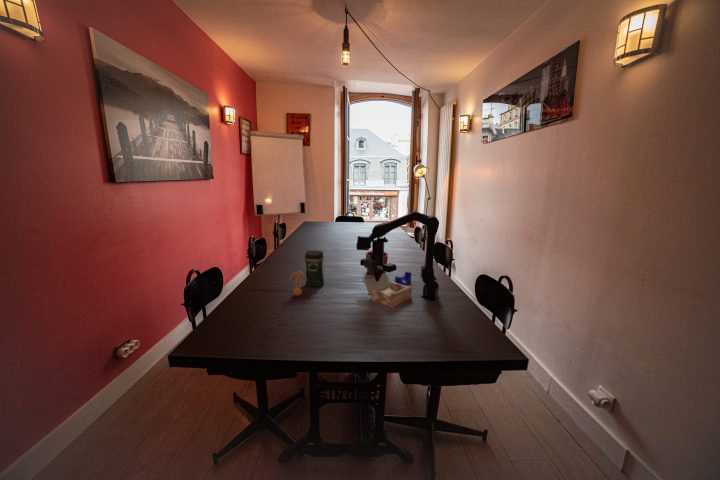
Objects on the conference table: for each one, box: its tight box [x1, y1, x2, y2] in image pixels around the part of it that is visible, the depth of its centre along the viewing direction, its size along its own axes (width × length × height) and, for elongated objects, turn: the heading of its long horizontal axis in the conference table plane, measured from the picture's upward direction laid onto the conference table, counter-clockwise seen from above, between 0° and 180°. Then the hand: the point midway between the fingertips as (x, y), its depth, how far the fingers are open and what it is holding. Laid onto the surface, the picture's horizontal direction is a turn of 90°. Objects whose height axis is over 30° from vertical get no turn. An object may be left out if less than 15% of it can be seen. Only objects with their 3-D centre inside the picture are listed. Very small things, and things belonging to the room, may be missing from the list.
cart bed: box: [370, 281, 413, 308], centre depth 141 cm, size 12×16×6 cm
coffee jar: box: [304, 249, 325, 288], centre depth 155 cm, size 10×8×19 cm
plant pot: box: [365, 250, 389, 275], centre depth 177 cm, size 13×13×12 cm
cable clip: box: [394, 270, 412, 286], centre depth 160 cm, size 12×4×6 cm, turn 142°
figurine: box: [289, 270, 307, 297], centre depth 142 cm, size 8×6×12 cm
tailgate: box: [363, 272, 390, 297], centre depth 147 cm, size 2×16×8 cm, turn 136°
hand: (377, 281), depth 146 cm, fingers closed, pressing on tailgate
